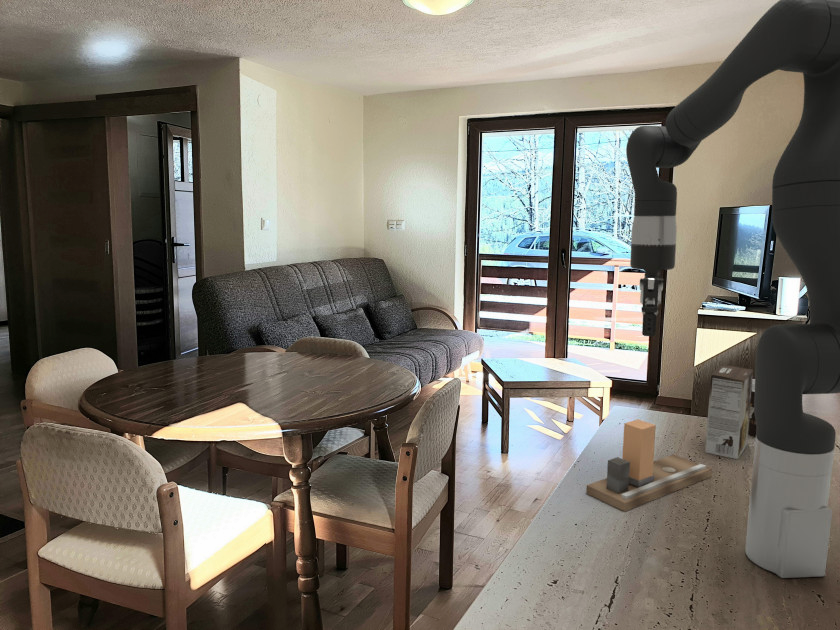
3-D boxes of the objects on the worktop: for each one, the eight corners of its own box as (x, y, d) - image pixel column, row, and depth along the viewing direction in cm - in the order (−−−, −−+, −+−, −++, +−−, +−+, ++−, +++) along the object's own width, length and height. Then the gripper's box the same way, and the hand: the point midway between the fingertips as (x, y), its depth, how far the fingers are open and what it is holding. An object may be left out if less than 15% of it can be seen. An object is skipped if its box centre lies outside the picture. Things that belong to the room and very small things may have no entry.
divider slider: (634, 473, 116) (637, 418, 114) (653, 481, 112) (657, 425, 111) (619, 478, 113) (622, 423, 112) (638, 487, 110) (642, 430, 108)
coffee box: (714, 439, 137) (720, 364, 134) (747, 445, 134) (754, 368, 131) (703, 452, 130) (709, 373, 127) (739, 460, 126) (746, 378, 123)
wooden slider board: (672, 462, 125) (674, 429, 124) (711, 476, 119) (714, 442, 118) (586, 493, 112) (587, 457, 111) (624, 511, 106) (626, 473, 104)
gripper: (676, 243, 109) (671, 340, 111) (675, 240, 122) (670, 327, 125) (629, 243, 111) (625, 337, 114) (632, 240, 125) (629, 325, 127)
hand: (649, 332), depth 119 cm, fingers open, 8 cm apart
